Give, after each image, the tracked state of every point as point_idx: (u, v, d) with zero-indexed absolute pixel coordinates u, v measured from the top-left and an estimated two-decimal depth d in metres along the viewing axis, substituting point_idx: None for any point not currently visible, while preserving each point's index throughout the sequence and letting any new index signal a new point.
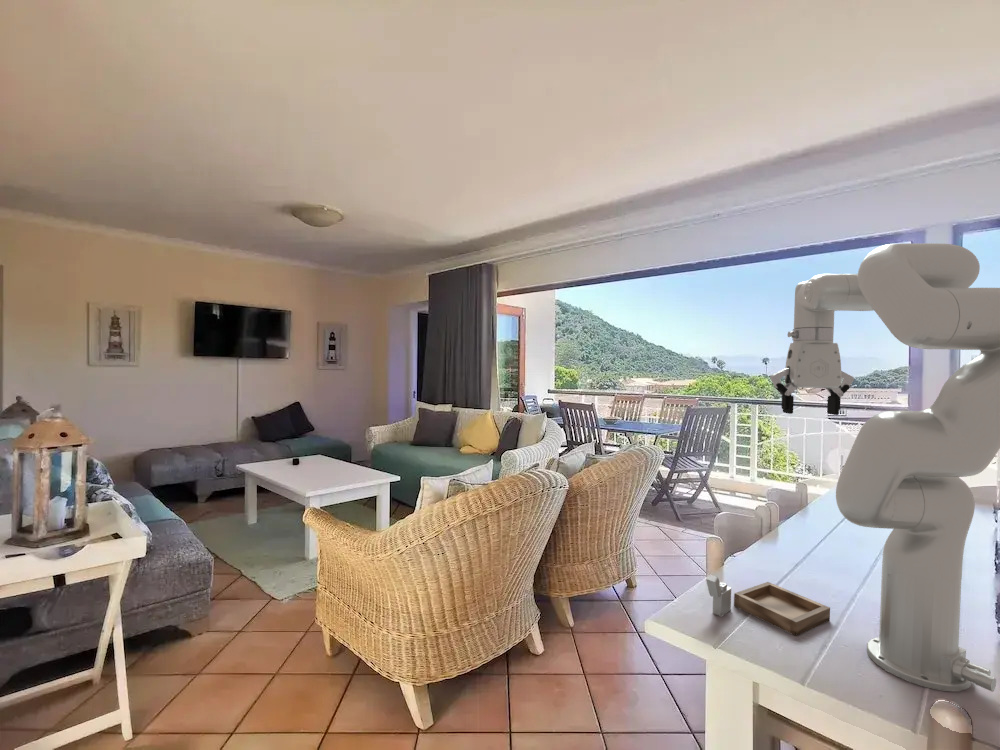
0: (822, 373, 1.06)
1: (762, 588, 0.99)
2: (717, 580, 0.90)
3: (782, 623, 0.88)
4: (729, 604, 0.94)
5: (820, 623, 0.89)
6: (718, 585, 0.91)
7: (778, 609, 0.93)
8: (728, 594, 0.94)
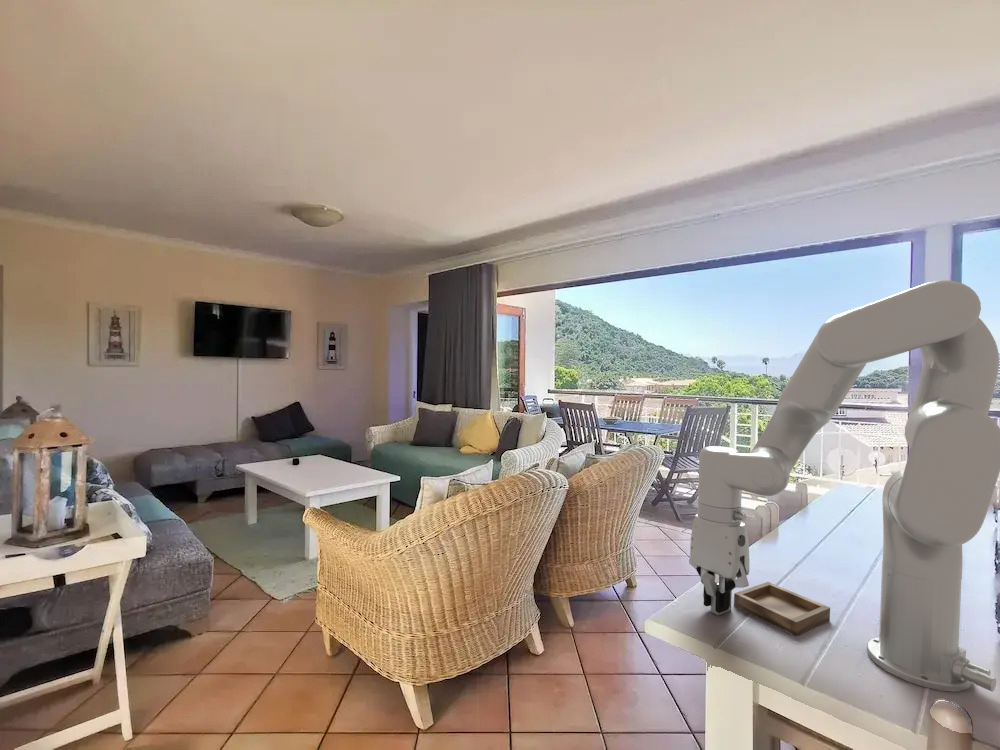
0: None
1: (762, 588, 0.99)
2: (712, 578, 0.91)
3: (782, 623, 0.88)
4: None
5: (820, 623, 0.89)
6: (713, 583, 0.91)
7: (778, 609, 0.93)
8: None
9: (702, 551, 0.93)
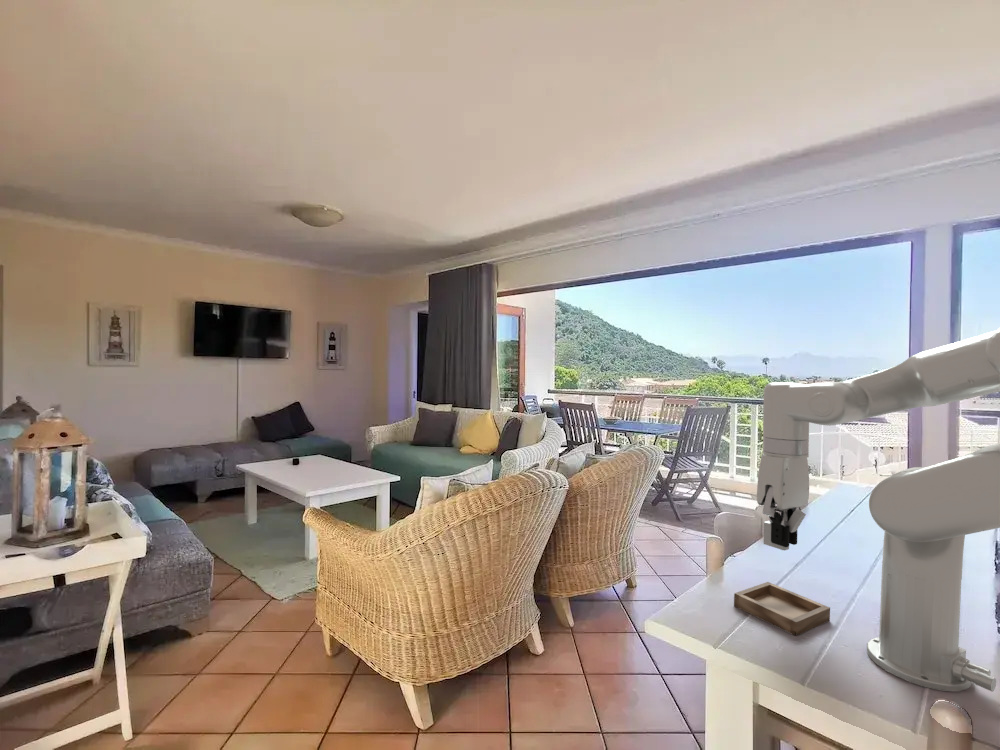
0: None
1: (762, 588, 0.99)
2: None
3: (782, 623, 0.88)
4: None
5: (820, 623, 0.89)
6: None
7: (778, 609, 0.93)
8: None
9: (792, 491, 0.90)
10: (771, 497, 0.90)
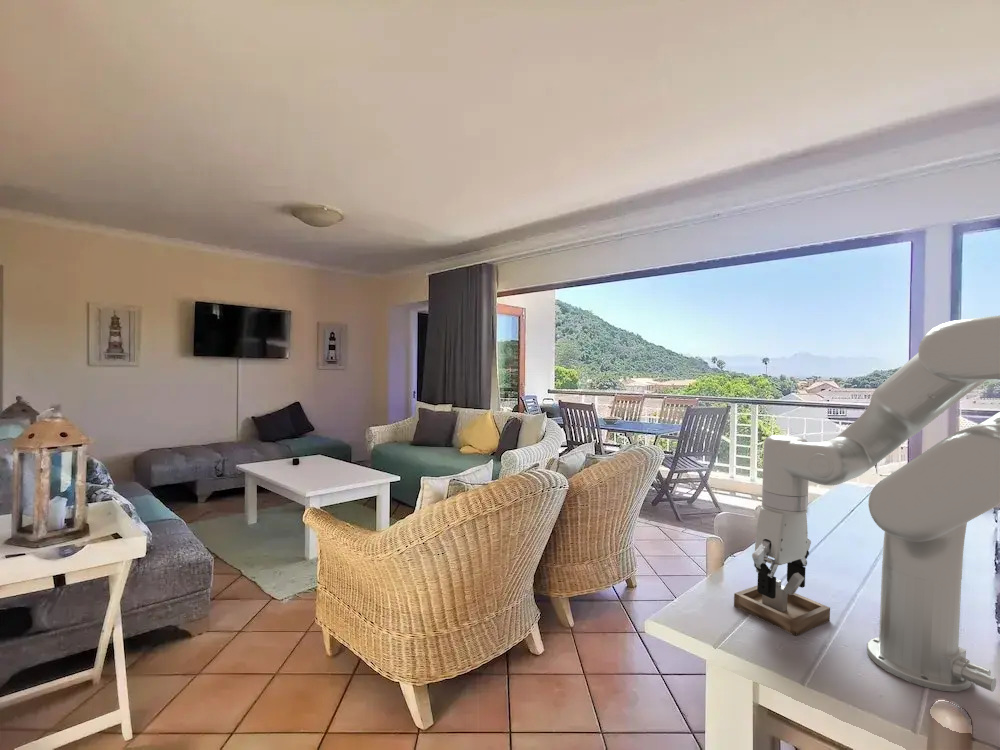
0: None
1: None
2: None
3: (782, 623, 0.88)
4: None
5: (820, 623, 0.89)
6: None
7: None
8: None
9: (790, 546, 0.90)
10: (766, 545, 0.90)
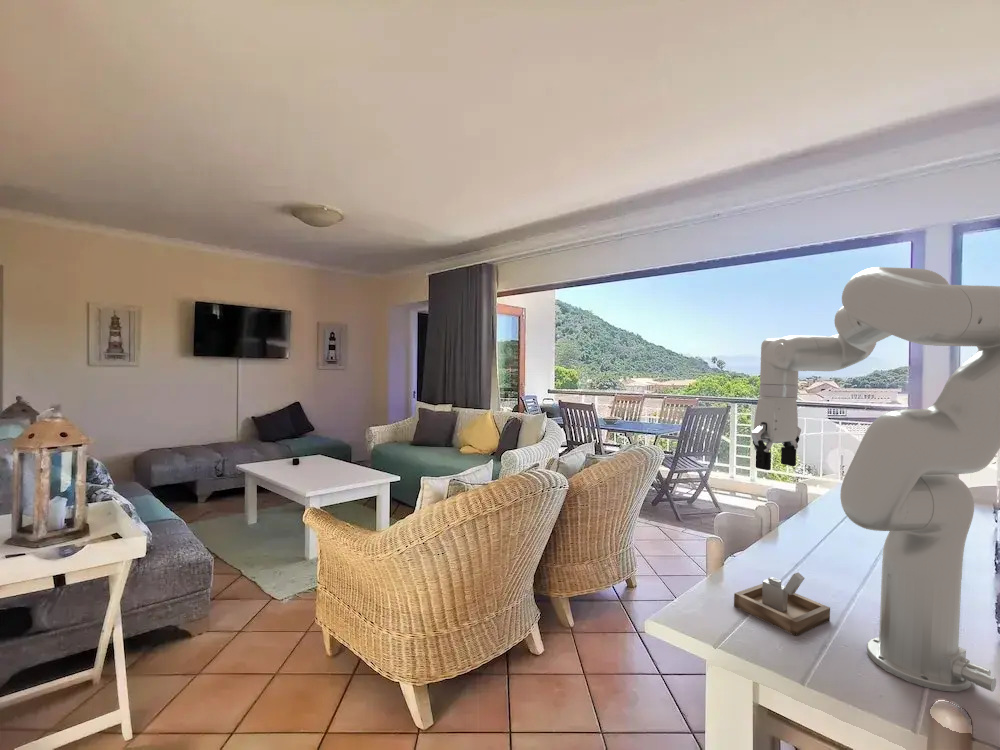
0: None
1: None
2: None
3: (782, 623, 0.88)
4: None
5: (820, 623, 0.89)
6: None
7: None
8: None
9: (783, 427, 1.09)
10: (763, 426, 1.08)
